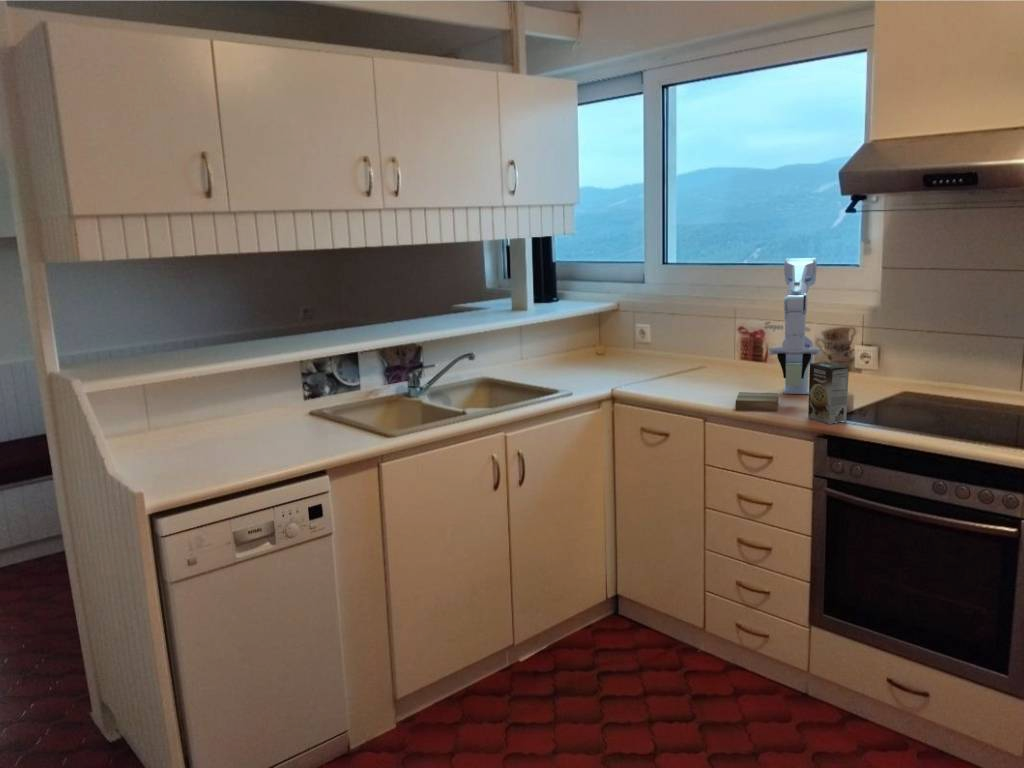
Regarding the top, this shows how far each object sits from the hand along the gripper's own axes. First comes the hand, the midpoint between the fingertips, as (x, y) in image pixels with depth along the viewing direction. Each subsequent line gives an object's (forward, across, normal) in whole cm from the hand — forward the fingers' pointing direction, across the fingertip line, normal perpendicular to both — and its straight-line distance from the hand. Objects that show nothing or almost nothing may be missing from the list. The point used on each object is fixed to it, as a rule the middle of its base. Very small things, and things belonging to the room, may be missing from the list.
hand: (793, 377), depth 252 cm
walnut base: (+8, -10, -4) cm, 14 cm away
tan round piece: (+8, +15, -5) cm, 18 cm away
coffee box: (+9, +10, -18) cm, 22 cm away
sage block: (+2, 0, 0) cm, 2 cm away
